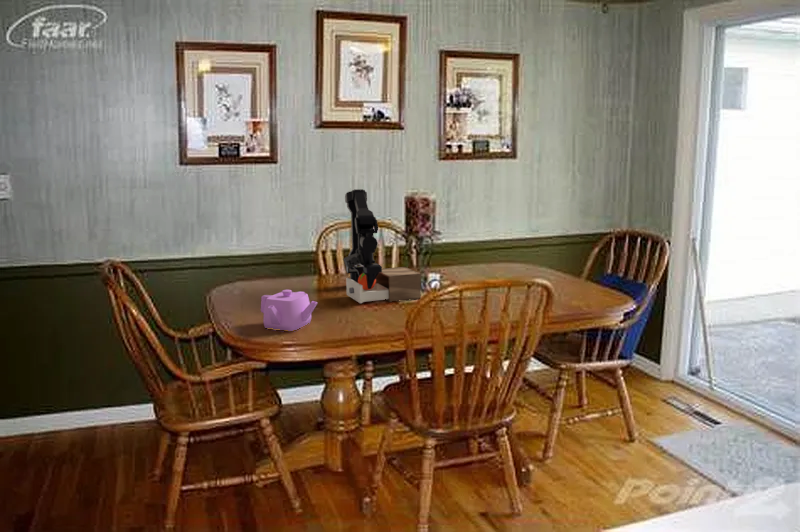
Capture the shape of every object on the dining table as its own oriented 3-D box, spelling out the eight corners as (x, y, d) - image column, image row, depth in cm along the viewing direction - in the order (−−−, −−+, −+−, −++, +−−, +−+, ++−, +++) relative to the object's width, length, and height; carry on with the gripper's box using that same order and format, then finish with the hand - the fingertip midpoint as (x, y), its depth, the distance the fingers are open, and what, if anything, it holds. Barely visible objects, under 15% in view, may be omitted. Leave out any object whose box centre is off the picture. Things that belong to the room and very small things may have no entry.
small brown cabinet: (375, 293, 288) (374, 269, 286) (404, 290, 293) (404, 266, 291) (389, 302, 275) (389, 276, 273) (420, 298, 280) (420, 273, 278)
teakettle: (304, 316, 254) (303, 282, 252) (319, 329, 239) (318, 293, 237) (256, 322, 248) (255, 287, 245) (269, 335, 232) (268, 298, 230)
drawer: (343, 295, 283) (343, 278, 281) (376, 291, 288) (376, 275, 287) (357, 303, 269) (356, 285, 268) (391, 300, 275) (391, 282, 274)
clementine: (368, 293, 273) (368, 274, 271) (353, 291, 276) (352, 273, 275) (379, 289, 280) (379, 271, 278) (364, 287, 283) (363, 269, 281)
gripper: (337, 244, 280) (338, 283, 283) (354, 252, 263) (354, 294, 266) (364, 242, 284) (364, 281, 287) (382, 250, 268) (382, 291, 271)
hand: (365, 286), depth 278 cm, fingers closed on clementine, 7 cm apart
